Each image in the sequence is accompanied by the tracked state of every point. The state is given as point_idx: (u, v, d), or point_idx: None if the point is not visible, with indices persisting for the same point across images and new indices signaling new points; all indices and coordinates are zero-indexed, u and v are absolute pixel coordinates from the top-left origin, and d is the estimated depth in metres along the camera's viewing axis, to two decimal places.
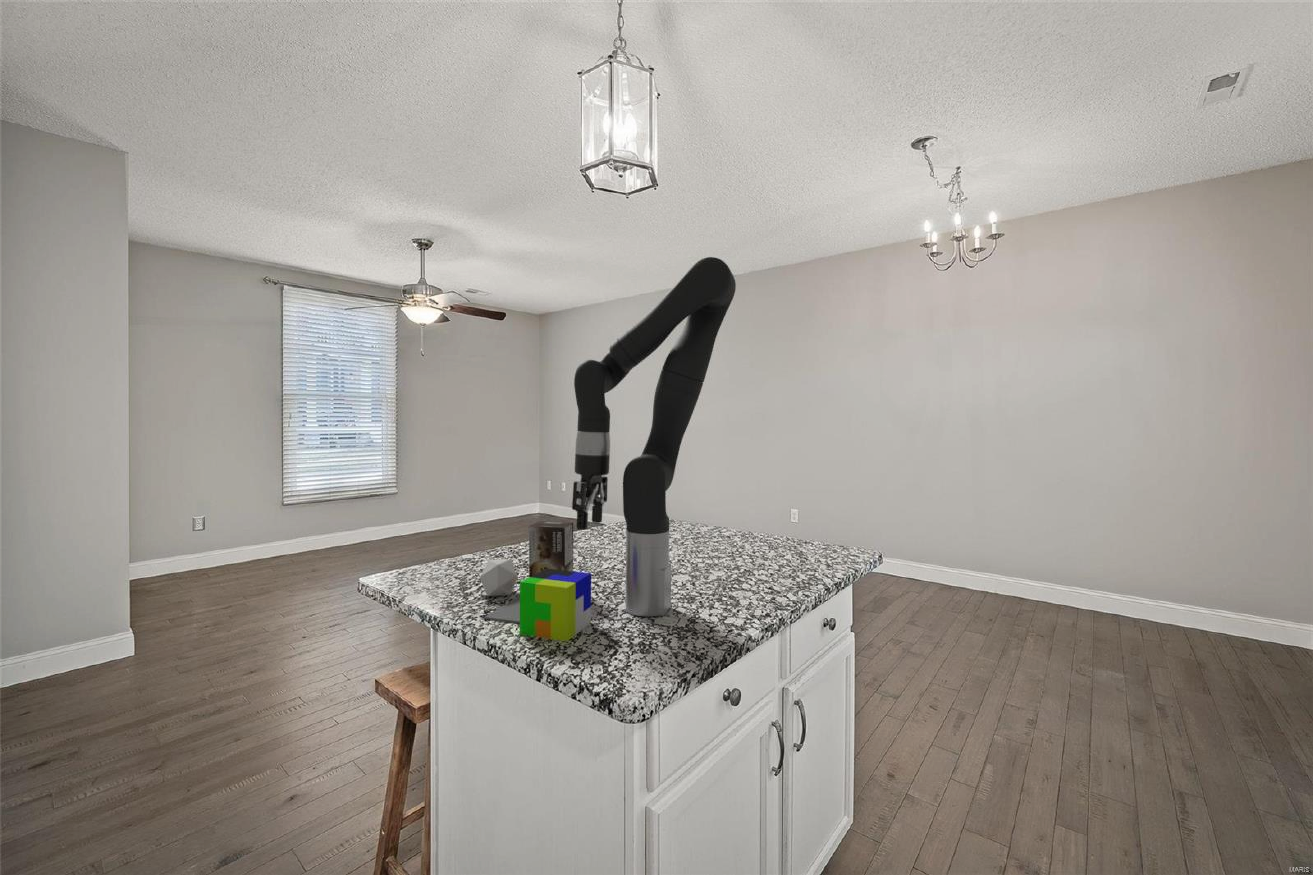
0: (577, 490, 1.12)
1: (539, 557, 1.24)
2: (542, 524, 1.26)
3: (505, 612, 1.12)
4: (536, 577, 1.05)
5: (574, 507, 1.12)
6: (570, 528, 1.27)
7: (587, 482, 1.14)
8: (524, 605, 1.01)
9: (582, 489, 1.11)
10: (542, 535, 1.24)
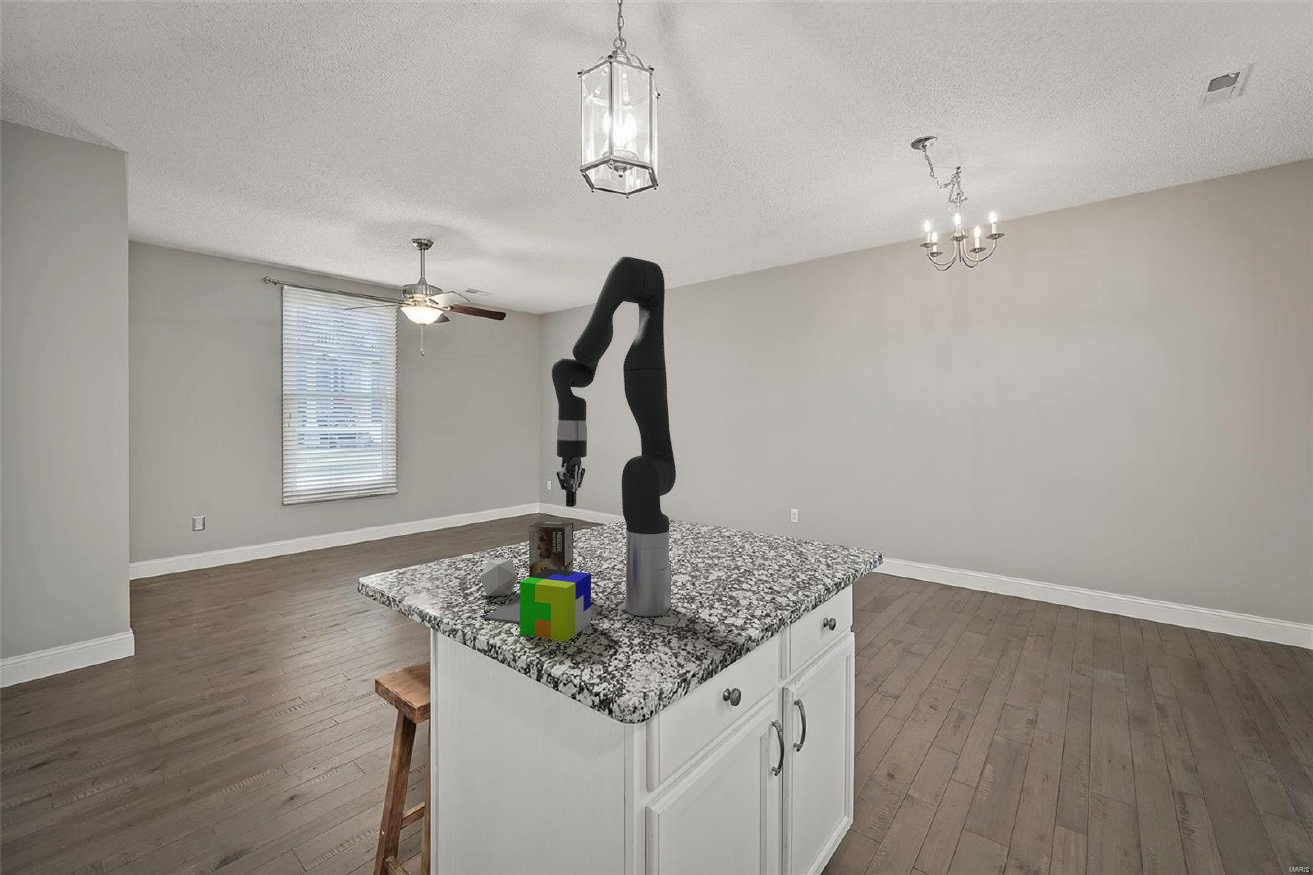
0: (561, 478, 1.32)
1: (539, 557, 1.24)
2: (542, 524, 1.26)
3: (505, 612, 1.12)
4: (536, 577, 1.05)
5: (563, 487, 1.34)
6: (570, 528, 1.27)
7: (567, 466, 1.33)
8: (524, 605, 1.01)
9: (565, 478, 1.31)
10: (542, 535, 1.24)
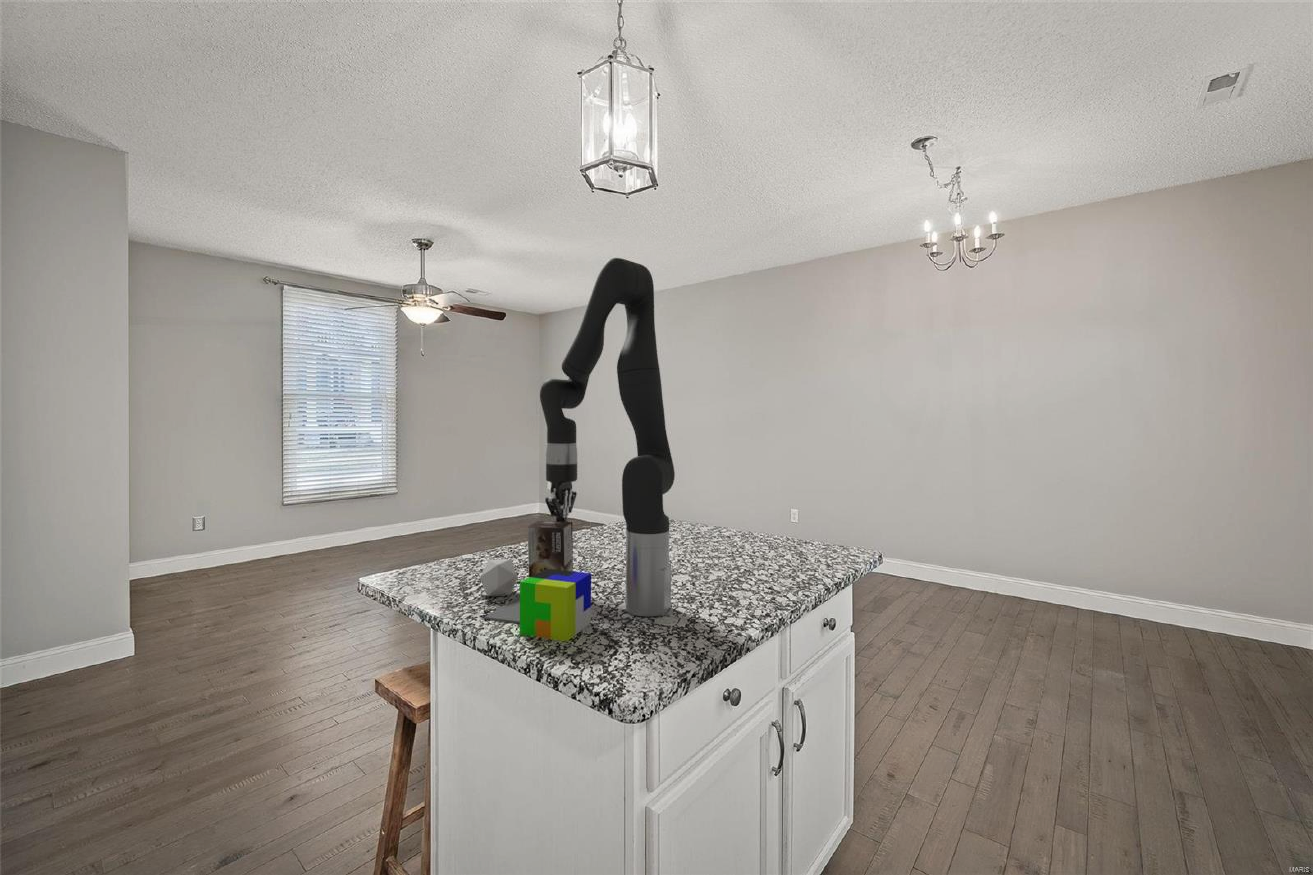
0: (550, 505, 1.26)
1: (539, 558, 1.24)
2: (541, 524, 1.26)
3: (505, 612, 1.12)
4: (536, 577, 1.05)
5: (553, 513, 1.28)
6: (569, 528, 1.26)
7: (556, 492, 1.27)
8: (524, 605, 1.01)
9: (554, 504, 1.26)
10: (541, 536, 1.23)
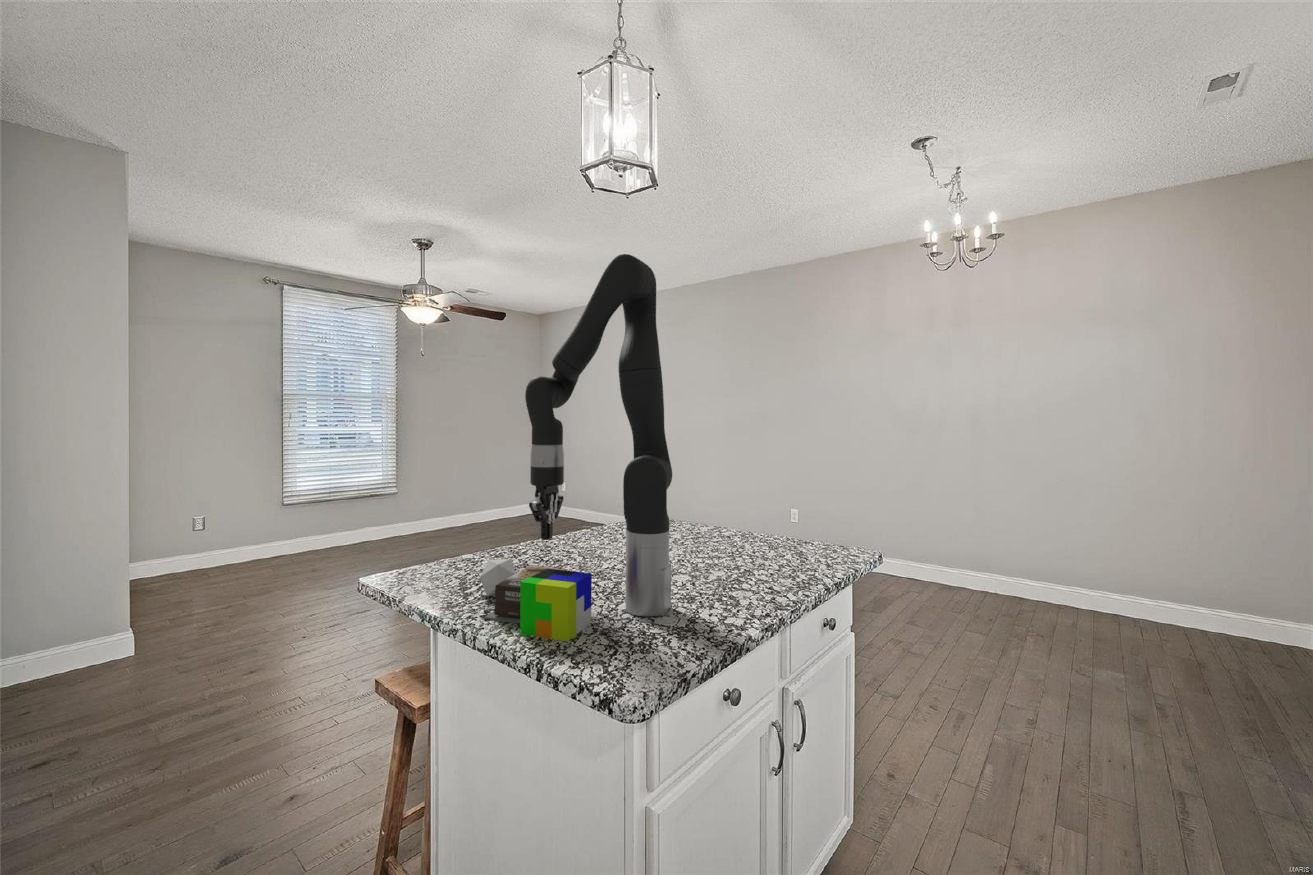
0: (534, 510, 1.19)
1: None
2: (505, 604, 1.09)
3: None
4: (536, 577, 1.05)
5: (537, 519, 1.21)
6: None
7: (541, 496, 1.20)
8: (525, 605, 1.01)
9: (539, 509, 1.19)
10: None
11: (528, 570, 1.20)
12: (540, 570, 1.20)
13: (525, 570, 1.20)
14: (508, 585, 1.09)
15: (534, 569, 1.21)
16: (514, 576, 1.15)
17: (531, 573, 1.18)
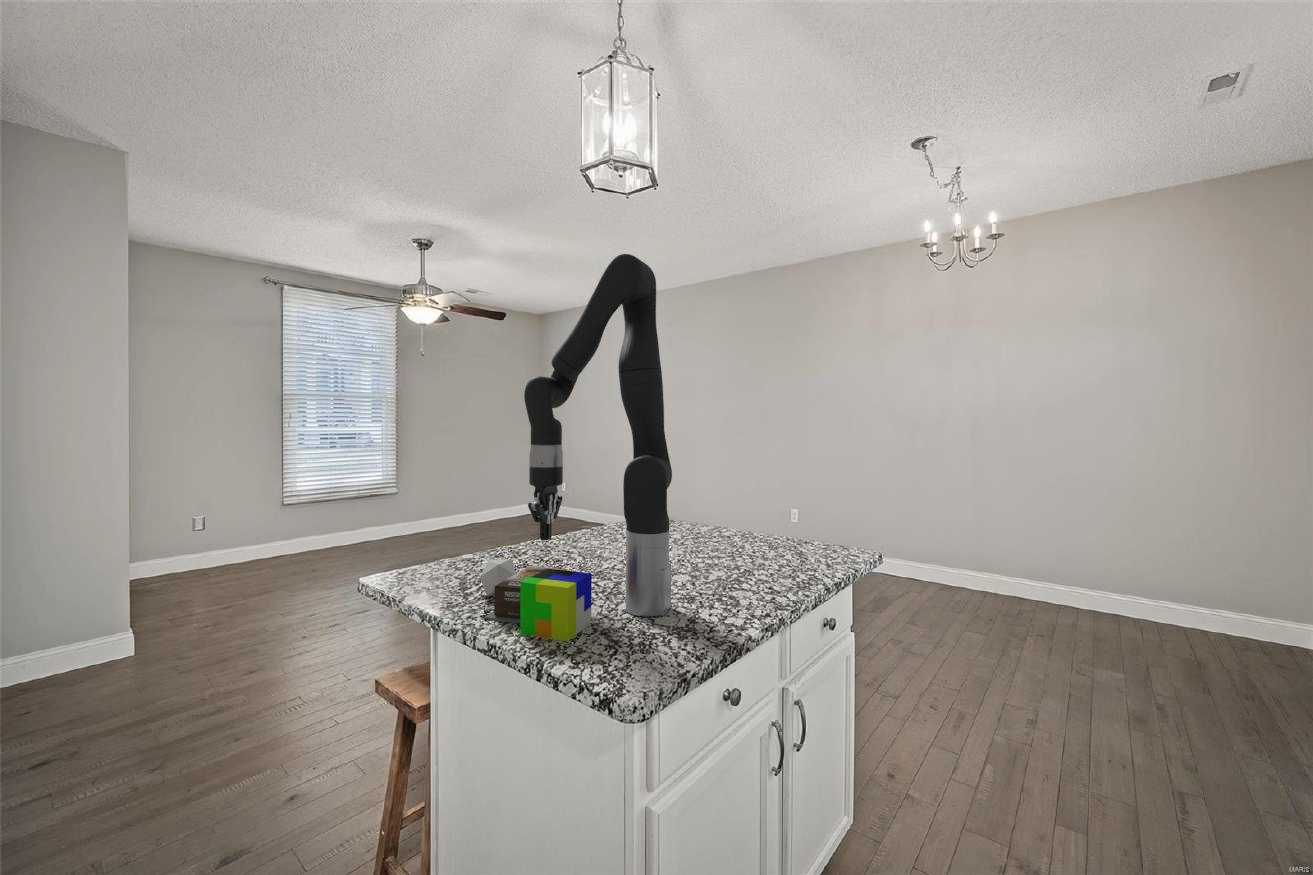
0: (533, 510, 1.19)
1: None
2: (505, 605, 1.09)
3: None
4: (537, 577, 1.04)
5: (536, 519, 1.21)
6: None
7: (540, 496, 1.19)
8: (525, 605, 1.01)
9: (538, 510, 1.18)
10: None
11: (528, 571, 1.20)
12: (539, 570, 1.20)
13: (524, 571, 1.20)
14: (507, 585, 1.09)
15: (533, 569, 1.21)
16: (513, 577, 1.15)
17: (530, 573, 1.18)
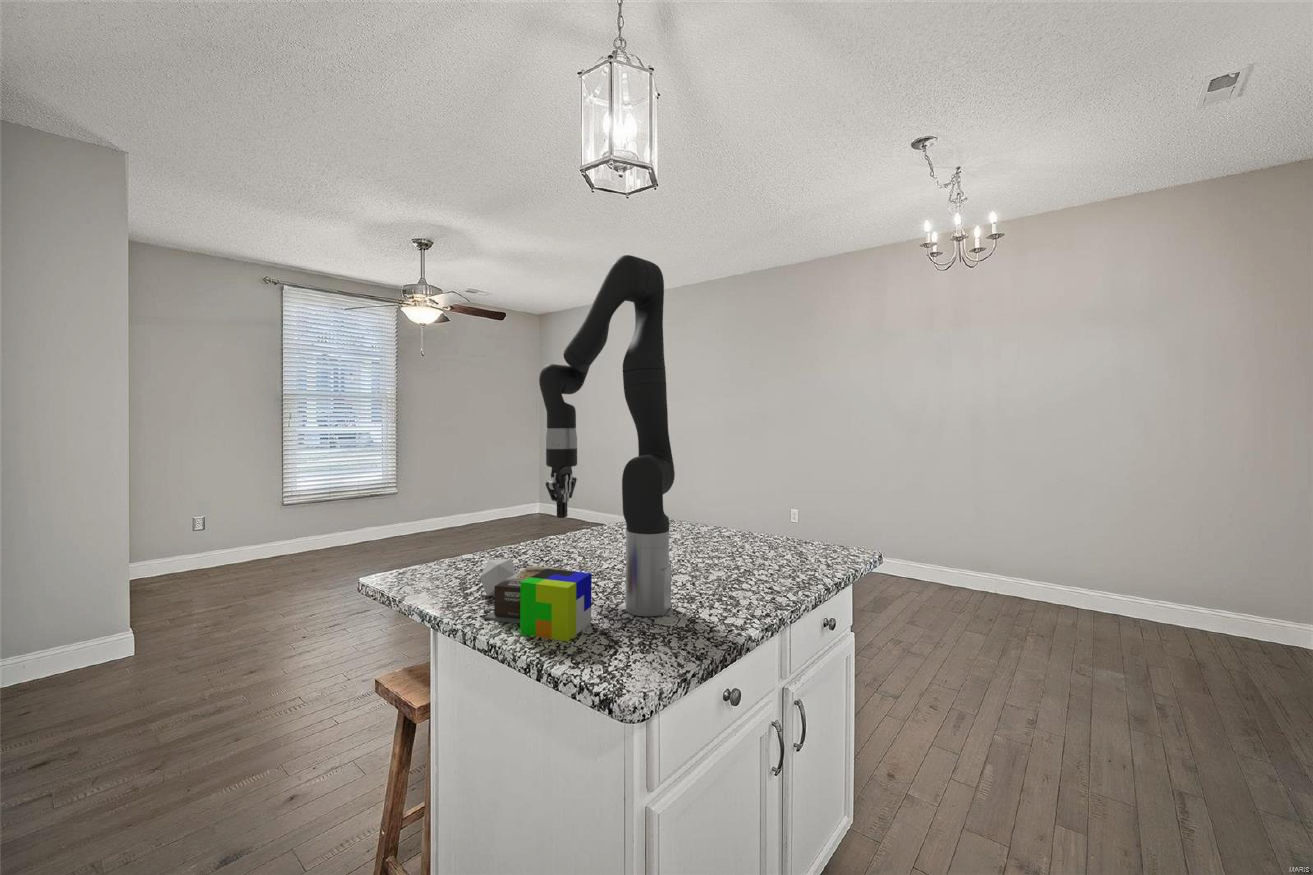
0: (551, 489, 1.27)
1: None
2: (505, 605, 1.09)
3: None
4: (536, 577, 1.05)
5: (553, 498, 1.29)
6: None
7: (557, 476, 1.28)
8: (525, 605, 1.01)
9: (555, 488, 1.26)
10: None
11: (528, 571, 1.20)
12: (539, 570, 1.20)
13: (524, 571, 1.20)
14: (507, 585, 1.09)
15: (533, 569, 1.21)
16: (513, 577, 1.15)
17: (530, 573, 1.18)
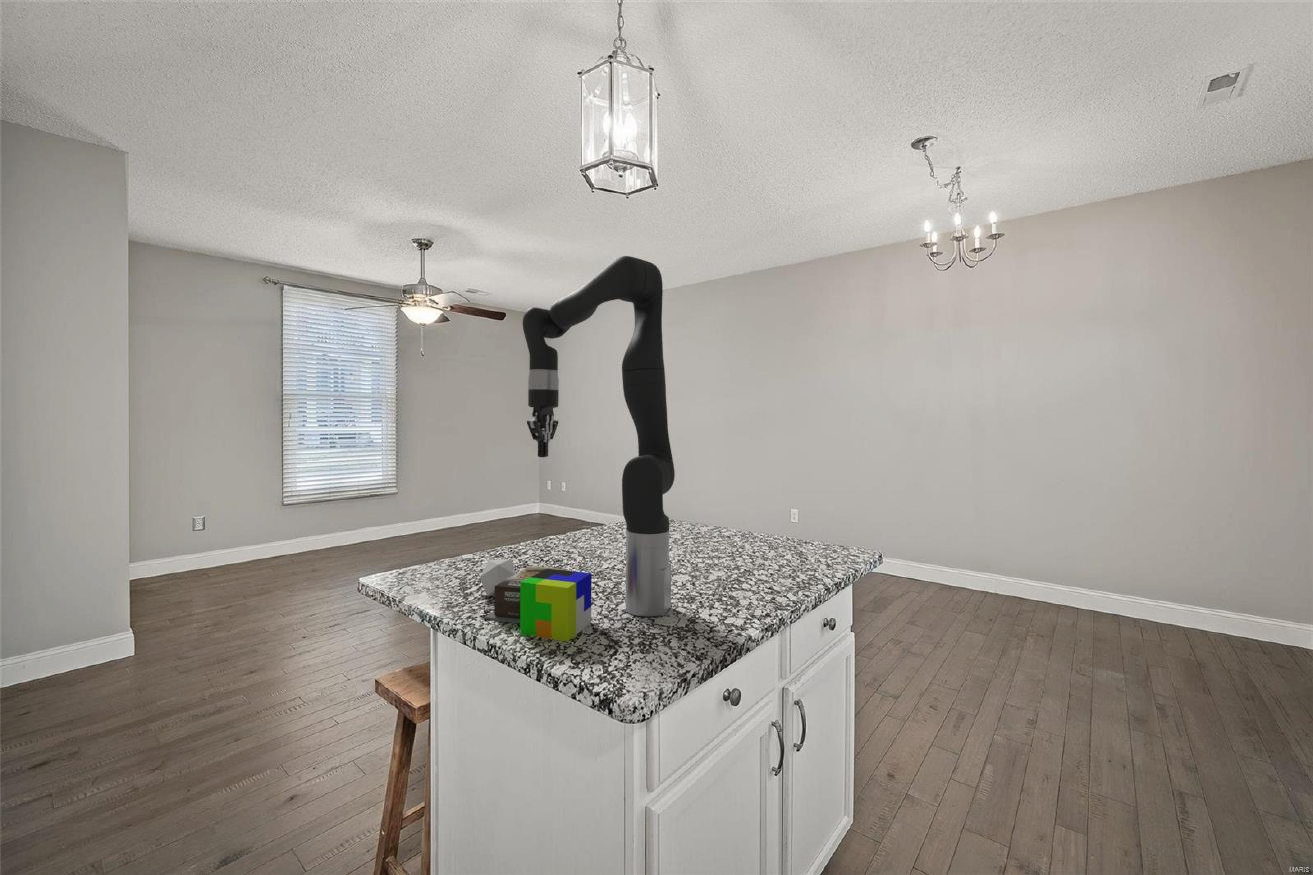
0: (532, 427, 1.31)
1: None
2: (505, 605, 1.09)
3: None
4: (536, 577, 1.05)
5: (534, 437, 1.34)
6: None
7: (538, 415, 1.32)
8: (525, 605, 1.01)
9: (535, 426, 1.31)
10: None
11: (528, 571, 1.20)
12: (539, 570, 1.20)
13: (524, 571, 1.20)
14: (507, 585, 1.09)
15: (533, 569, 1.21)
16: (513, 577, 1.15)
17: (530, 573, 1.18)
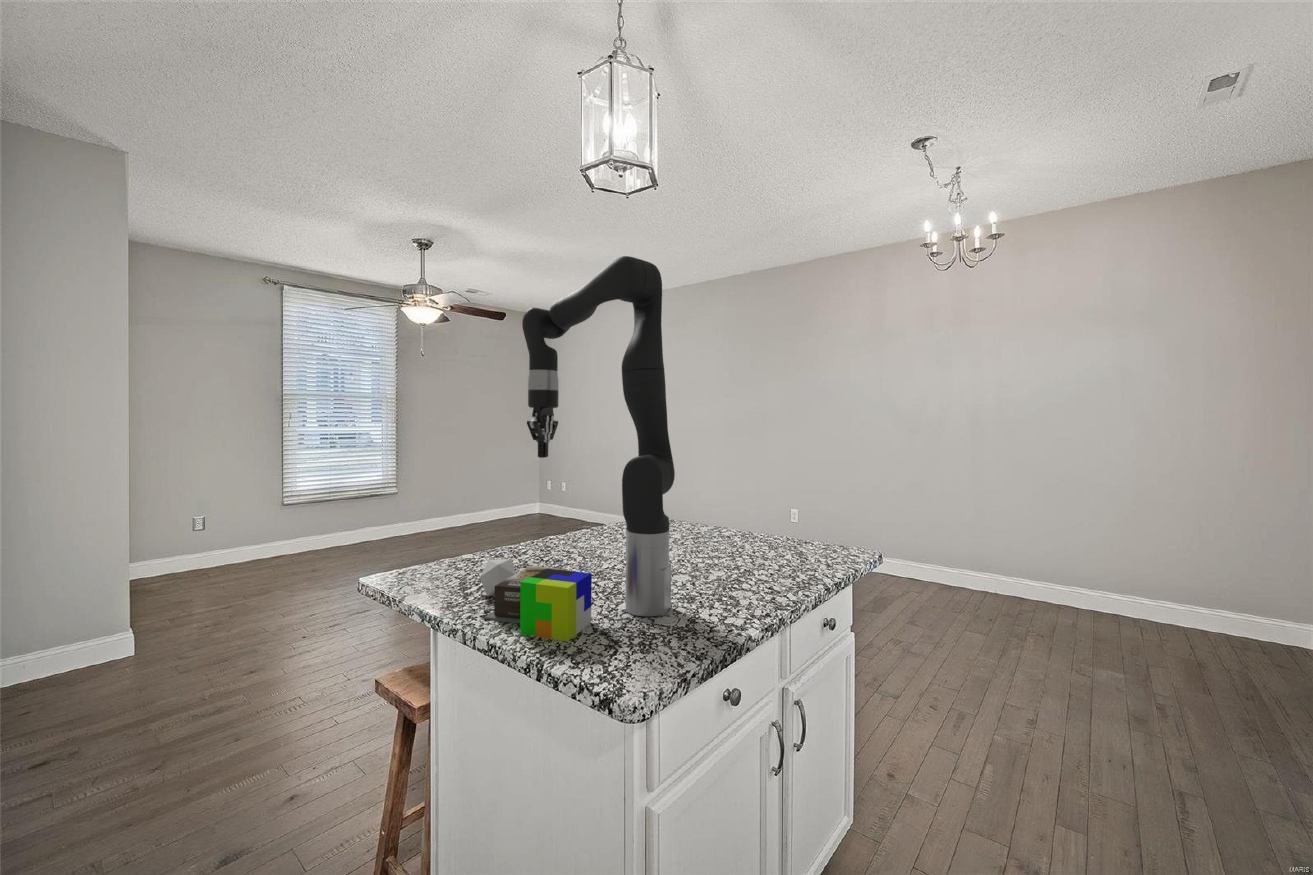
0: (532, 427, 1.31)
1: None
2: (505, 605, 1.09)
3: None
4: (537, 577, 1.05)
5: (534, 437, 1.34)
6: None
7: (538, 416, 1.32)
8: (525, 605, 1.01)
9: (535, 427, 1.31)
10: None
11: (528, 571, 1.20)
12: (539, 570, 1.20)
13: (524, 571, 1.20)
14: (507, 585, 1.09)
15: (533, 569, 1.21)
16: (513, 577, 1.15)
17: (530, 573, 1.18)
